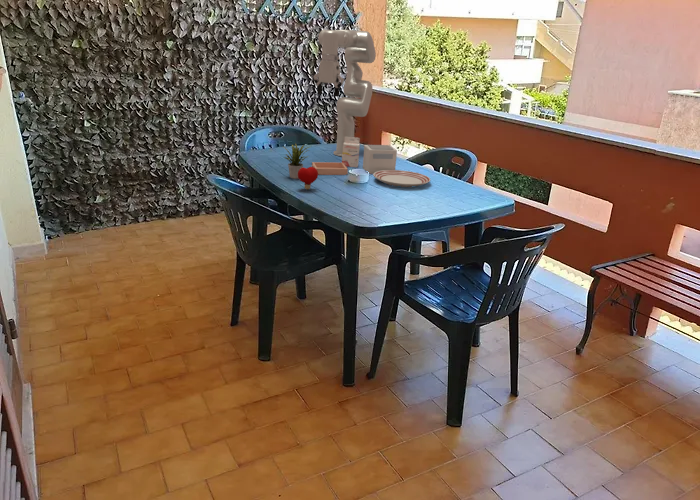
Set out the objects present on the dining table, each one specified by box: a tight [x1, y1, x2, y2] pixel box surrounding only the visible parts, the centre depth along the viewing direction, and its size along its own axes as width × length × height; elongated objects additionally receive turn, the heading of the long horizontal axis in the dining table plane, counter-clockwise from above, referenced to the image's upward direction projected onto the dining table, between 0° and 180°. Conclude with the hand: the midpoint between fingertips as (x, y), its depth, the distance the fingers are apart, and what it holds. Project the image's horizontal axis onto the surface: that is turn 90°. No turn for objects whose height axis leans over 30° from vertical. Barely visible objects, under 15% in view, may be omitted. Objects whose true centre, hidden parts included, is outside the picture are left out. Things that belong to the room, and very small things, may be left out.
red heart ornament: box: [298, 166, 319, 191], centre depth 234 cm, size 9×7×10 cm
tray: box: [311, 161, 349, 176], centre depth 267 cm, size 13×16×3 cm
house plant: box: [281, 142, 311, 180], centre depth 251 cm, size 14×14×16 cm
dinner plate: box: [372, 169, 431, 188], centre depth 257 cm, size 27×27×3 cm
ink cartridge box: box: [341, 136, 361, 168], centre depth 279 cm, size 9×5×15 cm, turn 84°
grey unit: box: [362, 144, 398, 175], centre depth 273 cm, size 13×14×12 cm
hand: (328, 95), depth 264 cm, fingers open, 9 cm apart
